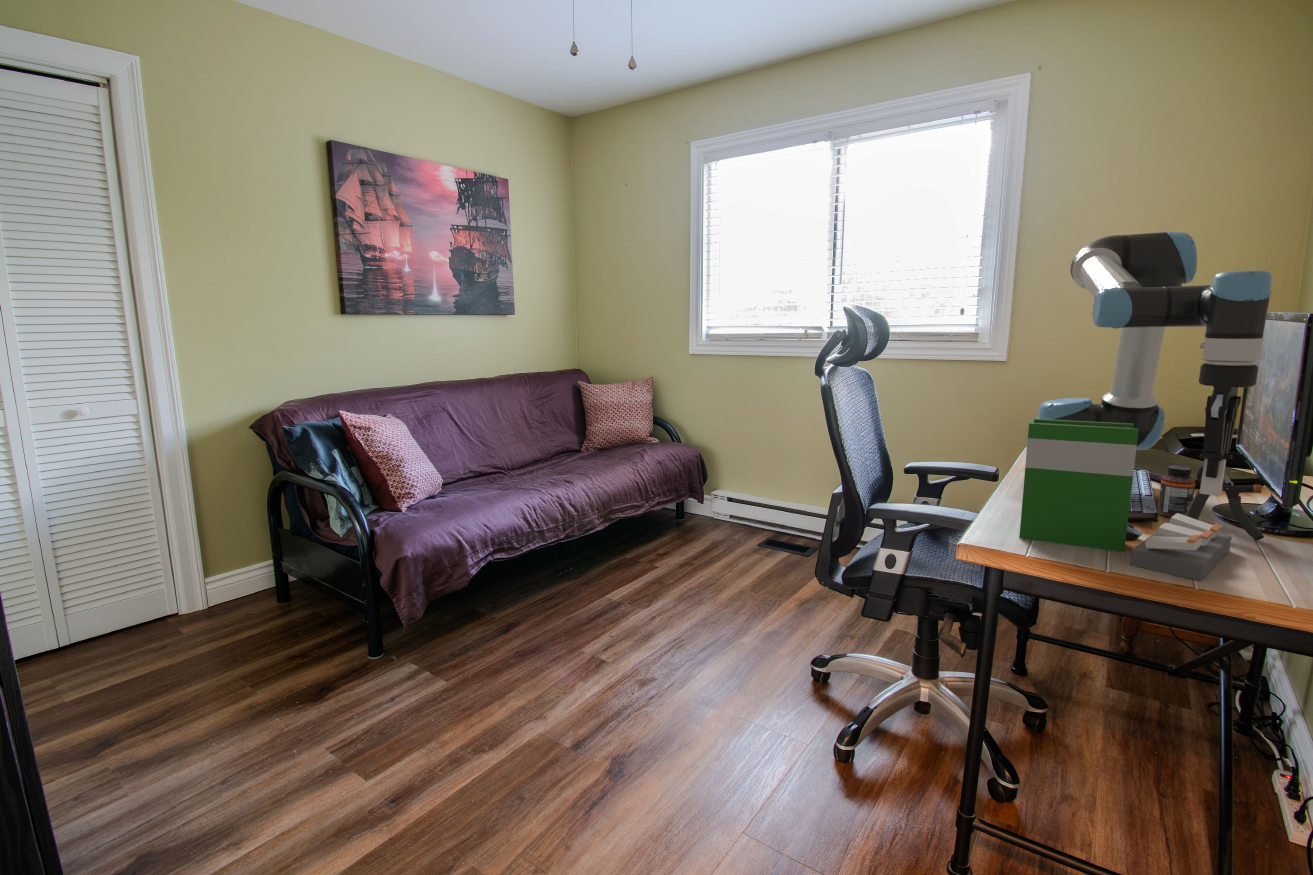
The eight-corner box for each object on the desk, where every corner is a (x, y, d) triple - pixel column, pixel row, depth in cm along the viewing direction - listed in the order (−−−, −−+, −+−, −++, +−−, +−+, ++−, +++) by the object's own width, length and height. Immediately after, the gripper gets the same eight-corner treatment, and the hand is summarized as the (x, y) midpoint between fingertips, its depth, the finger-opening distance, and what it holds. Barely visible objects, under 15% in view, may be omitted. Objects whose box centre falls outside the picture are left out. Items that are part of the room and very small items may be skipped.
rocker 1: (1153, 542, 118) (1152, 533, 118) (1201, 544, 112) (1200, 534, 112) (1146, 547, 115) (1144, 538, 115) (1195, 550, 110) (1194, 540, 110)
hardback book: (1120, 540, 129) (1133, 423, 125) (1124, 552, 123) (1138, 429, 119) (1020, 528, 138) (1029, 418, 134) (1019, 538, 132) (1029, 423, 127)
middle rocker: (1164, 528, 123) (1166, 519, 122) (1210, 540, 117) (1212, 531, 117) (1157, 533, 120) (1159, 524, 119) (1204, 545, 115) (1207, 537, 114)
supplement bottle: (1159, 510, 149) (1165, 463, 147) (1192, 515, 145) (1198, 466, 143) (1155, 516, 145) (1161, 467, 143) (1188, 521, 140) (1195, 471, 138)
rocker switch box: (1171, 533, 133) (1173, 519, 132) (1235, 545, 125) (1237, 530, 125) (1130, 564, 116) (1132, 549, 116) (1200, 581, 109) (1203, 564, 108)
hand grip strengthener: (1263, 543, 126) (1275, 469, 123) (1181, 531, 134) (1190, 462, 131) (1262, 540, 128) (1273, 467, 125) (1181, 529, 135) (1190, 460, 133)
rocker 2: (1175, 518, 127) (1178, 510, 127) (1218, 533, 122) (1222, 525, 122) (1168, 522, 124) (1172, 515, 124) (1213, 538, 119) (1217, 530, 119)
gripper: (1210, 359, 118) (1193, 483, 122) (1192, 364, 110) (1174, 496, 114) (1266, 361, 112) (1245, 491, 116) (1250, 366, 104) (1229, 505, 108)
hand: (1210, 493), depth 115 cm, fingers closed
